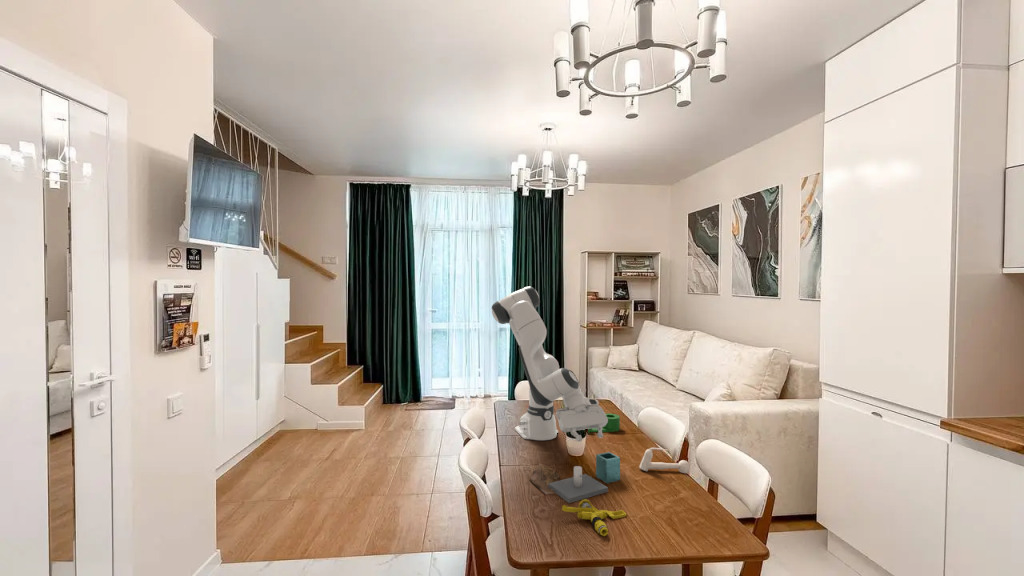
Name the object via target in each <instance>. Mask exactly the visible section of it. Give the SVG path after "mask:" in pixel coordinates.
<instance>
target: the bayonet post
mask: <svg viewBox="0 0 1024 576" xmlns="http://www.w3.org/2000/svg"><path fill="white" fill-rule="evenodd" d="M548 487H549V488H550V489H552V490H553V491H555V493H554V494H556V495H558V496H559V497H560V498H561V499H563V500H564V501H566V502H567V503H568V504H571V503H574V502H578V501H582V500H586V499H588V498H591V497H595V496H598V495H602V494H606V493H608V492H609V488H608V486H606V485H604V483H601V482H600V481H598V480H597V479H595V478H594V477H592V476H591V475H588V474H587V473H584V474H583V467H582V466H580V465H575V466H573V476H572V477H568V478H564V479H561V480H557V481H556V482H552V483H548Z"/></svg>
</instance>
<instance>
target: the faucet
mask: <svg viewBox="0 0 1024 576" xmlns="http://www.w3.org/2000/svg"><path fill="white" fill-rule="evenodd" d="M655 450H656V451H657V450H660V451H669V450H668V449H666V448H665V449H664V448H660V447H659V448H658V447H650V448H647V449H646V450H645V451H644V454H643V457H642V458H641V462H640V464H639V469H640V470H641V471H645V472H648V471H649V470H663V471H664V470H669V469H671V470H673V469H675V470H676V469H678V471H679V472H680V473H682V474H689V473H690V468H691V467H690V464H689V462H688V461H687V460H684V459H682V460H680V461H678V462H677V463H671V462H668V463H667V462H661V461H660V462H659V461H658V462H653V461H652V459H653V456H654V453H653V451H655Z"/></svg>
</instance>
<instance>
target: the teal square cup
mask: <svg viewBox="0 0 1024 576" xmlns="http://www.w3.org/2000/svg"><path fill="white" fill-rule="evenodd" d="M595 463H596V464H595V465H596V466H595V468H596V469H595V477H596V478H598V479H599V480H601V481H602V482H604V483H605V484H611V483H614V482H617V481H621V457H620V456H618V455H616V454H614V453H612V452H610V451H607V452H602V453H598V454H595Z"/></svg>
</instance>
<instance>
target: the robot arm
mask: <svg viewBox="0 0 1024 576" xmlns="http://www.w3.org/2000/svg"><path fill="white" fill-rule="evenodd" d="M540 303H541V300H540V295H539V293H538V291H537V290H536V289H535V288H534V286H533V287H532V286H530V285H529V286H525V287H523V288H520V289H518V290H515V291H513V292H511V293H510V294H508V295H506V296H504V297H502V298H501V299H500V300H497V301H495V302H494V303H493V304H492V305H491V313H492V314H491V315H492V317H493V319H494V320H495V321H496V322H498V324H500V325H506V324H509V326H510V329H511V332H512V334H513V335H514V338H515V340H516V342H517V345H518V346H519V347H518V352H519V357H520V360H521V364H522V366H523V369H524V373H525V376H526V379H527V382H528V385H529V391H528V393H529V395H528V396H529V397H528V398H529V399H528V400H529V402H528V403H529V404H528V405H526V408H527V410H526V411H527V412H526V413H524V414H523V415H522V416H521V417H520V418H519V421H518V422H519V425H517V426H515V427H514V430H515V431H516V432H517V433H518V434H519V436H520V437H521V438H523V440H533V441H551V440H553V439H555V438H557V435H558V434H559V430H558V429H557V422H558V426H559V429H560V431H561V432H562V433H569V432H570V434H571V436H572V437H574V438H575V440H576V442H581V441H582V440H583V437H582V434H579V433H578V432H577V431H582V430H583V431H584V430H585V429H592V428H597V430H599V432H597V433H596V436H597V438H598V439H601V438H603V437H604V432H602V427H604V426H605V425H606V424H607V423H608V419H607V416H606V414H607V413H606V412H605V410H604V409H603V407H602V406H600V402H599V400H597V399H593V398H589V397H586V396H585V394H584V393H583V392H582V390H581V386H580V383H579V380H578V378H577V376H576V374H575V373H574V372H573V371H572V370H570V369H569V368H565V367H561V368H560V365H559V361H558V360H557V359H556V358H555V357H554V356H553V355H552V354H549V353H548V352H546V351H545V349H544V346H543V344H544V342H545V340H546V338H547V335H548V334H547V333H548V331H547V327H546V325H545V322H544V321H543V319H542V318H541V316H540V314H539V312H538V311H537V310H536V309H537V307H538V306H540ZM560 398H562V401H563V402H562V403H563V405H564V407H563V408H557V409H556V410H555V407H554V406H555V405H554V401H556V400H558V399H560ZM554 413H555V414H554ZM556 419H557V421H556ZM557 433H558V434H557Z"/></svg>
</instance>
